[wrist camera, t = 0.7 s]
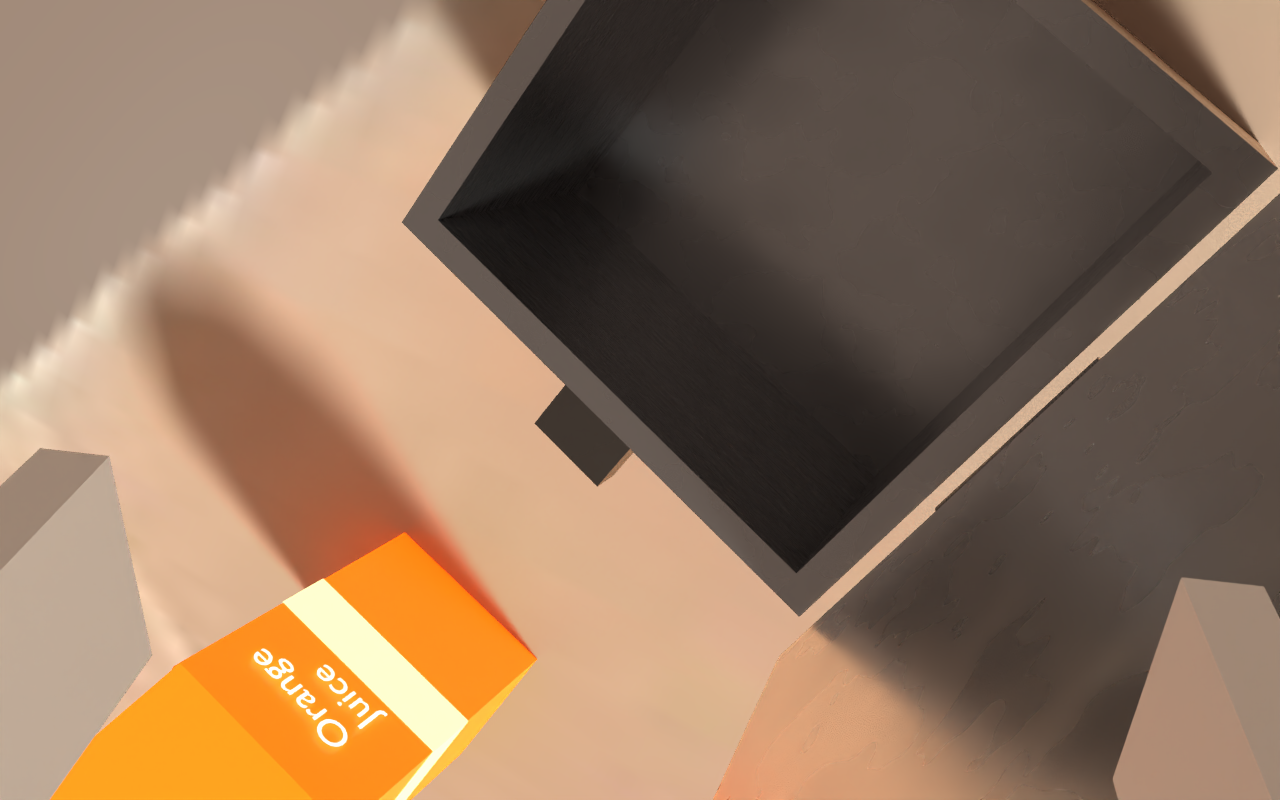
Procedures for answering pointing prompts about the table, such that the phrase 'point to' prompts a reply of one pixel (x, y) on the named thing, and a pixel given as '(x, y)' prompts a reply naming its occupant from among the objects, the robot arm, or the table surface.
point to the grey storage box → (820, 239)
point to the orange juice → (318, 696)
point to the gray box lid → (1048, 572)
